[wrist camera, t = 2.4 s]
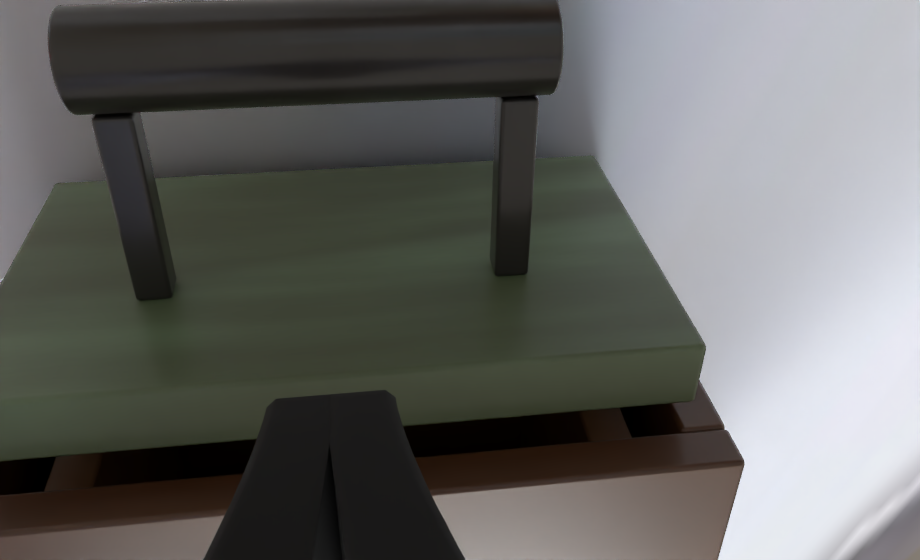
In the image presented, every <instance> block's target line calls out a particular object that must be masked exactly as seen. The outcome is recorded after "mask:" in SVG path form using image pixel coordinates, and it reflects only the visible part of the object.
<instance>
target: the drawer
mask: <svg viewBox="0 0 920 560" xmlns="http://www.w3.org/2000/svg"><path fill="white" fill-rule="evenodd" d="M48 53H49V61H50V67H51V71H52V76H53V80H54V83H55V86H56V89H57V92H58V94H59V97H60V99H61V101H62V103H63V105H64V106H65V108H66V109H67V110H68V111H69V112H70V113H72V114H74V115H93V117H92V120H91V123H92V127H93V131H94V135H95V139H96V143H97V147H98V151H99V155H100V159H101V163H102V167H103V171H104V175H105V178H106V181H87V182H67V183H57V184H55V185H54V187H53V189H52V191H51V193H50V194H49V196H48V198H47V200H46V202H45V204H44V205H43V207H42V209H41V211H40V213H39V215H38V216H37V218H36V220H35V222H34V224H33V226H32V227H31V229H30V231H29V233H28V235H27V237H26V238H25V240H24V242H23V244H22V246H21V248H20V249H19V251H18V253H17V255H16V257H15V259H14V260H13V262H12V264H11V266H10V268H9V269H8V271H7V273H6V275H5V277H4V279H3V280H2V282H1V284H0V462H1V461H13V460H24V459H36V458H47V457H55V460H54V463H53V466H52V469H51V472H50V474H49V477H48V480H47V483H46V486H45V489H44V491H54V490H65V489H76V488H87V487H98V486H108V485H119V484H130V483H141V482H152V481H163V480H174V479H185V478H196V477H207V476H218V475H229V474H240V473H244V471H245V468H246V466H247V463H248V461H249V458H250V456H251V453H252V451H253V448H254V445H255V443H256V440H257V437H258V434H259V431H260V428H261V425H262V422H263V419H264V415H265V412H266V408H267V407H268V406H269V405H270V404H271V403H272V402H273V401H274V400H275V399H278V398H291V397H303V396H315V395H327V394H340V393H352V392H364V391H376V390H386V391H388V392H389V393H391V394H392V395H393V396H395V397H396V403H397V408H398V412H399V415H400V418H401V422H402V425H403V428H404V431H405V434H406V437H407V439H408V442H409V445H410V447H411V450H412V452H413V455H414V457H426V456H437V455H448V454H459V453H470V452H481V451H492V450H503V449H514V448H525V447H536V446H547V445H558V444H569V443H580V442H591V441H602V440H613V439H624V438H632V437H631V434H630V432H629V429H628V427H627V425H626V422H625V420H624V417H623V415H622V413H621V410H620V408H622V407H634V406H645V405H657V404H668V403H680V402H691V401H693V400H694V399H695V396H696V391H697V387H698V382H699V378H700V373H701V369H702V364H703V360H704V355H705V350H706V346H705V343H704V342H703V340H702V338H701V336H700V335H699V333H698V331H697V330H696V328H695V326H694V325H693V323H692V321H691V320H690V318H689V316H688V314H687V313H686V311H685V309H684V308H683V306H682V304H681V303H680V301H679V299H678V297H677V296H676V294H675V292H674V291H673V289H672V287H671V286H670V284H669V282H668V281H667V279H666V277H665V275H664V274H663V272H662V270H661V269H660V267H659V265H658V264H657V262H656V260H655V259H654V257H653V255H652V253H651V252H650V250H649V248H648V247H647V245H646V243H645V242H644V240H643V238H642V236H641V235H640V233H639V231H638V230H637V228H636V226H635V225H634V223H633V221H632V220H631V218H630V216H629V214H628V213H627V211H626V209H625V208H624V206H623V204H622V203H621V201H620V199H619V198H618V196H617V194H616V192H615V191H614V189H613V187H612V186H611V184H610V182H609V181H608V179H607V177H606V175H605V174H604V172H603V170H602V169H601V167H600V165H599V164H598V162H597V160H596V159H595V157H594V156H591V155H589V156H570V157H550V158H536V143H537V127H538V112H539V100H538V98H537V96H536V95H551V94H553V93H554V92H555V91H556V90H557V87H558V85H559V81H560V78H561V73H562V66H563V53H564V34H563V22H562V15H561V9H560V5H559V2H558V0H223V1H188V2H153V3H119V4H84V5H60V6H57V7H55V8H54V9H53V11H52V13H51V16H50V19H49V26H48ZM488 97H495V125H494V153H493V160H492V161H473V162H454V163H434V164H415V165H396V166H377V167H357V168H338V169H319V170H299V171H280V172H261V173H241V174H222V175H203V176H183V177H164V178H155V177H154V172H153V167H152V163H151V158H150V154H149V149H148V144H147V140H146V135H145V130H144V126H143V121H142V117H141V112H164V111H187V110H210V109H233V108H256V107H280V106H303V105H326V104H349V103H372V102H395V101H419V100H442V99H465V98H488Z"/></svg>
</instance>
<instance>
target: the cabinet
mask: <svg viewBox="0 0 920 560" xmlns="http://www.w3.org/2000/svg"><path fill="white" fill-rule="evenodd" d="M620 410H621V413H622V415H623V417H624V420H625V422H626V425H627V427H628V429H629V432H630V434H631V437H632V438H624V439H613V440H602V441H591V442H580V443H569V444H558V445H547V446H536V447H525V448H514V449H503V450H492V451H481V452H470V453H459V454H448V455H437V456H426V457H415V459H416V462H417V464H418V466H419V469H420V471H421V473H422V476H423V478H424V480H425V482H426V484H427V486H428V489H429V491H430V493H431V495H432V497H433V499H434V501H435V503H436V505H437V507H438V509H439V511H440V513H441V514H442V516H443V518H444V520H445V522H446V524H447V526H448V528H449V530H450V532H451V534H452V535H453V537H454V539H455V541H456V543H457V545H458V547H459V549H460V550H461V552H462V554H463V556H464V557H465V559H466V560H718V556H719V553H720V549H721V546H722V542H723V538H724V535H725V531H726V528H727V524H728V521H729V517H730V514H731V510H732V507H733V503H734V499H735V496H736V492H737V489H738V485H739V482H740V478H741V475H742V471H743V468H744V460H743V458H742V456H741V454H740V452H739V450H738V449H737V447H736V445H735V443H734V441H733V440H732V438H731V436H730V434H729V432H728V431H727V430H724V424H723V422H722V420H721V418H720V417H719V415H718V413H717V411H716V409H715V408H714V406H713V404H712V402H711V400H710V398H709V397H708V395H707V393H706V391H705V389H704V388H703V386H702V384H701V382H700V380H699V382H698V387H697V391H696V396H695V399H694V400H693V401H691V402H680V403H668V404H657V405H645V406H634V407H622V408H620ZM54 460H55V457H47V458H36V459H24V460H13V461H1V462H0V560H203V559H204V557H205V555H206V553H207V551H208V549H209V547H210V545H211V543H212V541H213V538H214V536H215V534H216V532H217V530H218V528H219V526H220V524H221V522H222V520H223V518H224V516H225V514H226V511H227V509H228V507H229V505H230V503H231V501H232V499H233V497H234V494H235V492H236V490H237V487H238V485H239V482H240V480H241V478H242V475H243V473H240V474H229V475H218V476H207V477H196V478H185V479H174V480H163V481H152V482H141V483H130V484H119V485H108V486H98V487H87V488H76V489H65V490H54V491H44V489H45V486H46V483H47V480H48V477H49V474H50V472H51V469H52V466H53V463H54Z"/></svg>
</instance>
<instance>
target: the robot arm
mask: <svg viewBox="0 0 920 560" xmlns="http://www.w3.org/2000/svg"><path fill="white" fill-rule="evenodd" d="M203 560H466V559H465V557H464V556H463V554H462V552H461V550H460V549H459V547H458V545H457V543H456V541H455V539H454V537H453V535H452V534H451V532H450V530H449V528H448V526H447V524H446V522H445V520H444V518H443V516H442V514H441V513H440V511H439V509H438V507H437V505H436V503H435V501H434V499H433V497H432V495H431V493H430V491H429V489H428V486H427V484H426V482H425V480H424V478H423V476H422V473H421V471H420V469H419V466H418V464H417V462H416V459H415V457H414V455H413V452H412V450H411V447H410V445H409V442H408V439H407V437H406V434H405V431H404V428H403V425H402V422H401V418H400V415H399V412H398V408H397V403H396V397H395V396H393V395H392V394H391V393H389V392H388V391H386V390H376V391H364V392H352V393H340V394H327V395H315V396H303V397H291V398H278V399H275V400H274V401H273V402H272V403H271V404H270V405H269V406H268V407H267V408H266V412H265V415H264V419H263V422H262V425H261V428H260V431H259V434H258V437H257V440H256V443H255V445H254V448H253V451H252V453H251V456H250V458H249V461H248V463H247V466H246V468H245V471H244V473H243V475H242V478H241V480H240V482H239V485H238V487H237V490H236V492H235V494H234V497H233V499H232V501H231V503H230V505H229V507H228V509H227V511H226V514H225V516H224V518H223V520H222V522H221V524H220V526H219V528H218V530H217V532H216V534H215V536H214V538H213V541H212V543H211V545H210V547H209V549H208V551H207V553H206V555H205V557H204V559H203Z"/></svg>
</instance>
